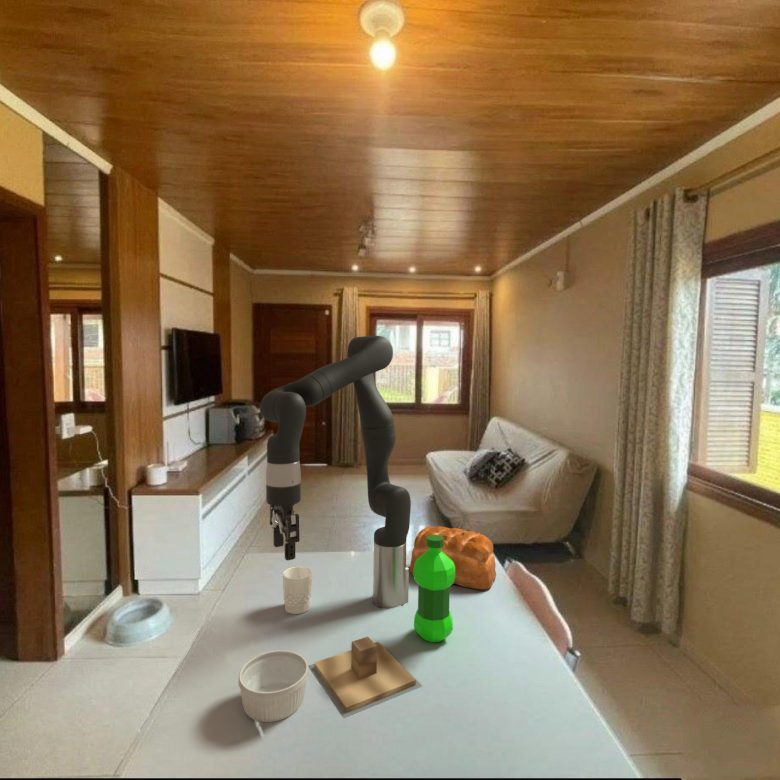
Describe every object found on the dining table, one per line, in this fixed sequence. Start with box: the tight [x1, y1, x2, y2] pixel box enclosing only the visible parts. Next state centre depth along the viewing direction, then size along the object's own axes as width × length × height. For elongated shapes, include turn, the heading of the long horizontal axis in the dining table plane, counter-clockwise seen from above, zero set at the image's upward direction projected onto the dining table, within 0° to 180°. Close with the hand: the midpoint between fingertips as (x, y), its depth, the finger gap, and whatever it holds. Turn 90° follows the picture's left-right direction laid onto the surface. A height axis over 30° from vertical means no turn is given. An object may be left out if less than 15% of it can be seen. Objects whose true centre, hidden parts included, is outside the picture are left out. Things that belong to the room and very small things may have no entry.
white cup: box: [282, 566, 313, 615], centre depth 131 cm, size 8×8×10 cm
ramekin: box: [238, 650, 309, 723], centre depth 94 cm, size 13×13×7 cm
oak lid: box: [313, 636, 417, 713], centre depth 102 cm, size 16×16×7 cm
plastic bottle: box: [412, 535, 455, 643], centre depth 117 cm, size 10×10×25 cm
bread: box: [409, 525, 497, 590], centre depth 152 cm, size 14×26×16 cm, turn 66°
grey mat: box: [308, 663, 423, 719], centre depth 102 cm, size 18×18×1 cm
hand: (284, 552), depth 107 cm, fingers open, 8 cm apart
